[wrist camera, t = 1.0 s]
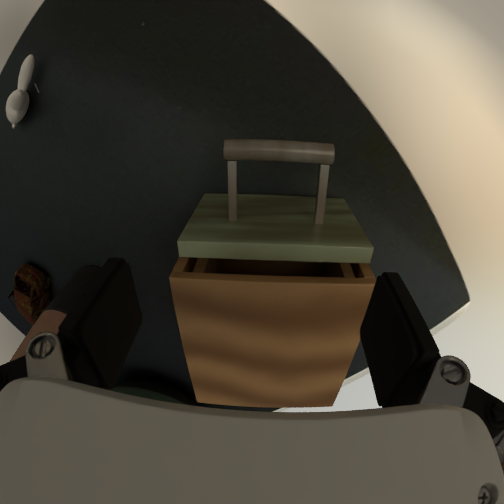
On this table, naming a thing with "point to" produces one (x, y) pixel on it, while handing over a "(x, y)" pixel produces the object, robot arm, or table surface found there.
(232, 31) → the table surface
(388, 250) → the table surface
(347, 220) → the drawer
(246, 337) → the cabinet
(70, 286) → the travel mug
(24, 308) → the toy car
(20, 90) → the rabbit figurine
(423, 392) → the robot arm
